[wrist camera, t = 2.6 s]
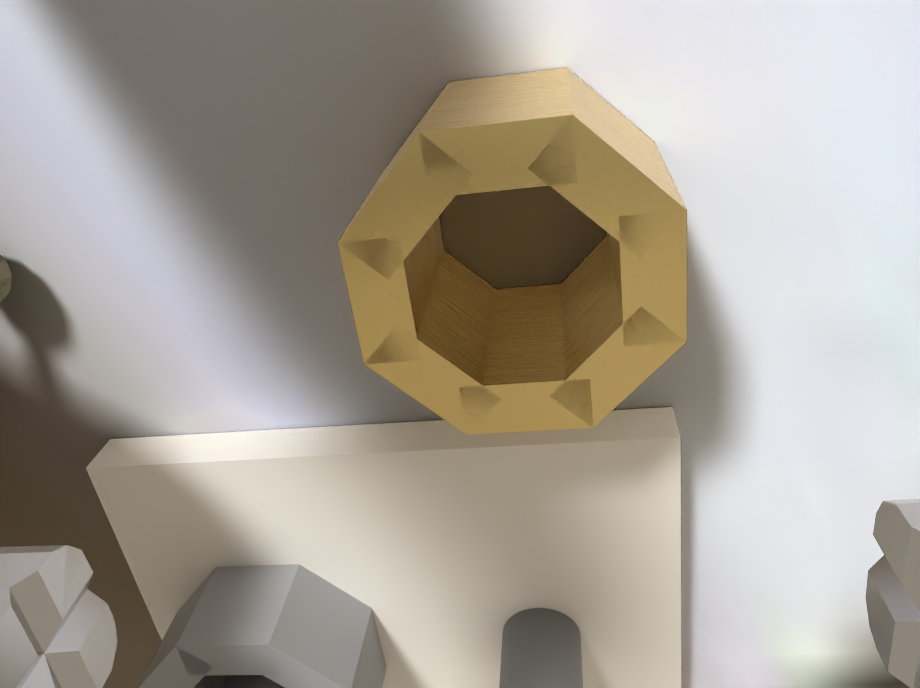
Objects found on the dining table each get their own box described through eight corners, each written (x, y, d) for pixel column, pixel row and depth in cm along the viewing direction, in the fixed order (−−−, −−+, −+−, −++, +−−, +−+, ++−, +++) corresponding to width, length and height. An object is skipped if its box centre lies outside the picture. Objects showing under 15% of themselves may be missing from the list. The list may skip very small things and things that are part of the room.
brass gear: (653, 56, 14) (687, 101, 11) (657, 318, 17) (686, 422, 13) (368, 91, 15) (315, 143, 12) (413, 336, 18) (380, 439, 14)
